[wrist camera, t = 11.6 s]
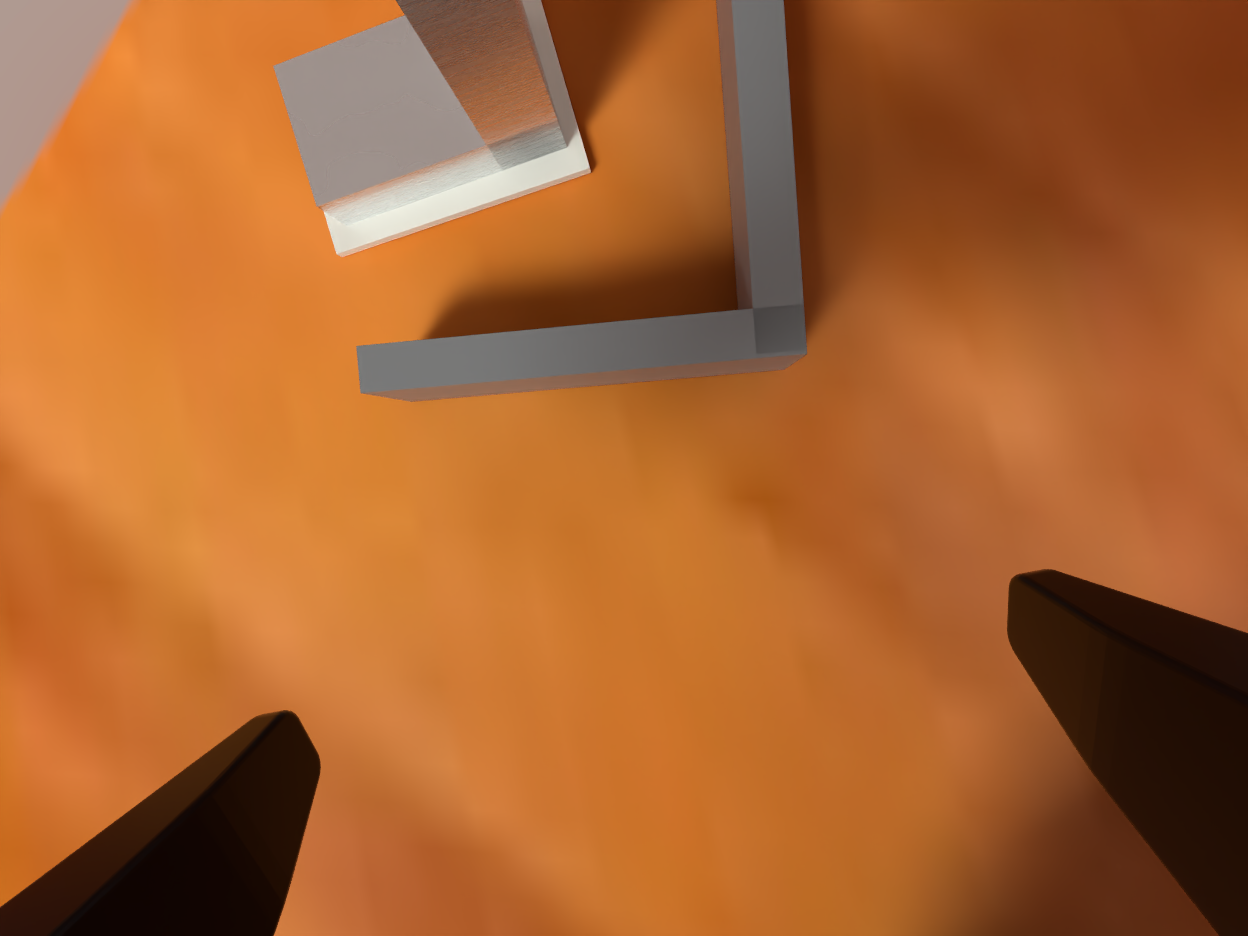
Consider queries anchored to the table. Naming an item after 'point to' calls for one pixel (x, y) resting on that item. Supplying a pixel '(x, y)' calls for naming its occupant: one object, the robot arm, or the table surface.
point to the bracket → (419, 105)
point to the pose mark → (487, 188)
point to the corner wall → (673, 344)
